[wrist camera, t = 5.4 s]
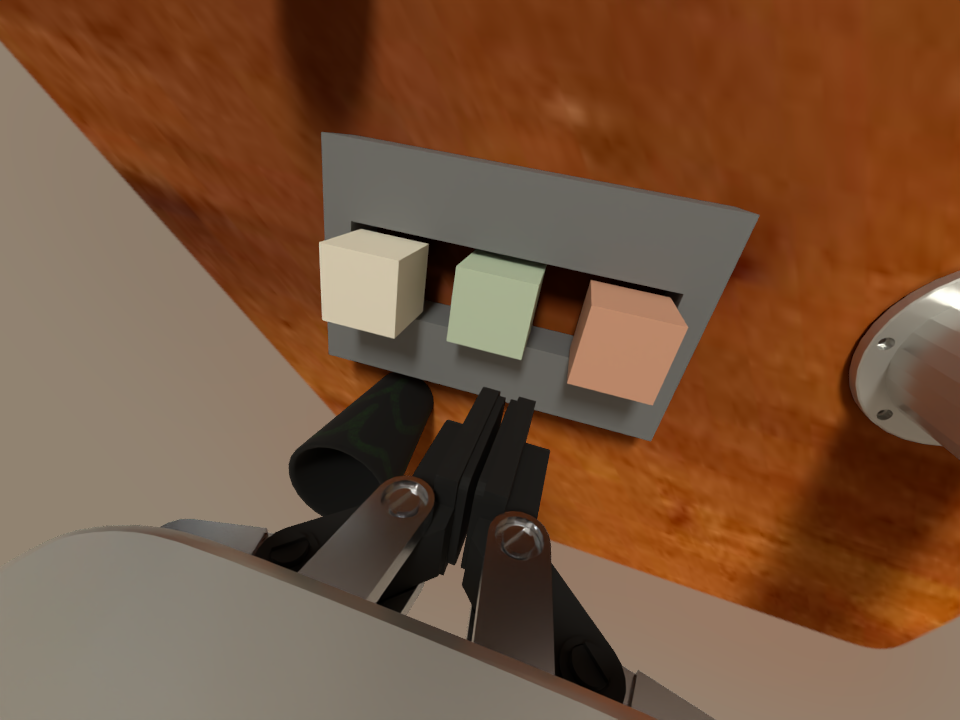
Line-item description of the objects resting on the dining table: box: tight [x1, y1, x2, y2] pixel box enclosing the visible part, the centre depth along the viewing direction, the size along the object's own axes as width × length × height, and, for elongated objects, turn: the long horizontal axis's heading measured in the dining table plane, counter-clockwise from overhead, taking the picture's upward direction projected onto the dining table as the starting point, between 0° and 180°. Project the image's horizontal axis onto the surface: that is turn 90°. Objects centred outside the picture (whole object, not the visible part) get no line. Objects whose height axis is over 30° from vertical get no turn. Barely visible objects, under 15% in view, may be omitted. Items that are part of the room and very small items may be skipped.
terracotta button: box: [567, 280, 688, 405], centre depth 24 cm, size 5×5×5 cm
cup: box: [289, 372, 434, 517], centre depth 33 cm, size 8×8×12 cm
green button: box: [447, 249, 547, 360], centre depth 26 cm, size 5×5×5 cm
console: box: [321, 132, 759, 441], centre depth 29 cm, size 26×16×4 cm, turn 81°
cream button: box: [319, 229, 429, 339], centre depth 26 cm, size 5×5×5 cm
